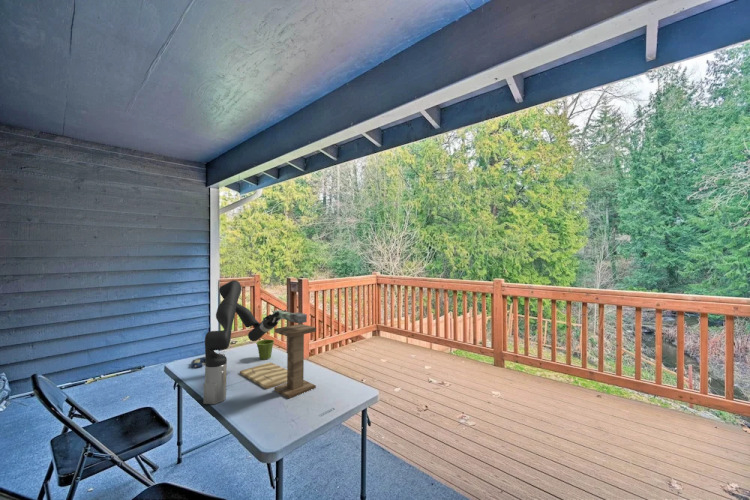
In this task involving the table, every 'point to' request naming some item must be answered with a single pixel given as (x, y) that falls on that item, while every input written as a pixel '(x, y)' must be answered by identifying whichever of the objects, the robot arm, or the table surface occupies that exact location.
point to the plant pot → (265, 348)
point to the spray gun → (199, 362)
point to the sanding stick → (292, 316)
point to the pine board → (266, 375)
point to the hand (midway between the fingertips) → (282, 312)
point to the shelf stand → (295, 360)
